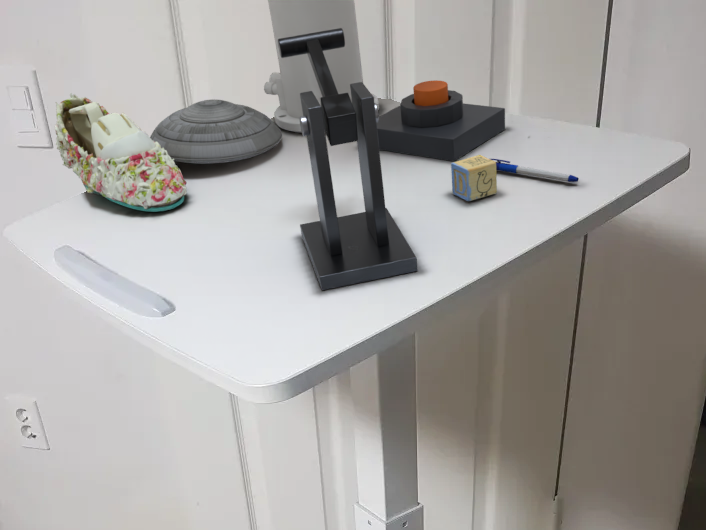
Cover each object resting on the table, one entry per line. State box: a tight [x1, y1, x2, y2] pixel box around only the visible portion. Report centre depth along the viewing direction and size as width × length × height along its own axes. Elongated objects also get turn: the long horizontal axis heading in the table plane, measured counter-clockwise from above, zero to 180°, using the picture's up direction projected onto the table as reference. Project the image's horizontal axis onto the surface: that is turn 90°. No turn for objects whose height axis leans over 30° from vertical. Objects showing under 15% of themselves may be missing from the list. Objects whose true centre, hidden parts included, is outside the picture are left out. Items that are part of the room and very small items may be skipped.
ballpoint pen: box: [490, 158, 579, 183], centre depth 80 cm, size 10×1×1 cm, turn 52°
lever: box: [278, 28, 358, 147], centre depth 68 cm, size 13×6×2 cm, turn 12°
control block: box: [377, 89, 506, 162], centre depth 90 cm, size 12×10×4 cm
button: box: [412, 80, 449, 106], centre depth 89 cm, size 4×4×2 cm
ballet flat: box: [54, 92, 188, 213], centre depth 89 cm, size 9×25×8 cm, turn 39°
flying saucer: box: [149, 99, 283, 165], centre depth 94 cm, size 15×15×6 cm
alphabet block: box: [450, 154, 498, 202], centre depth 78 cm, size 3×3×3 cm
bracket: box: [299, 82, 418, 291], centre depth 68 cm, size 11×8×13 cm
